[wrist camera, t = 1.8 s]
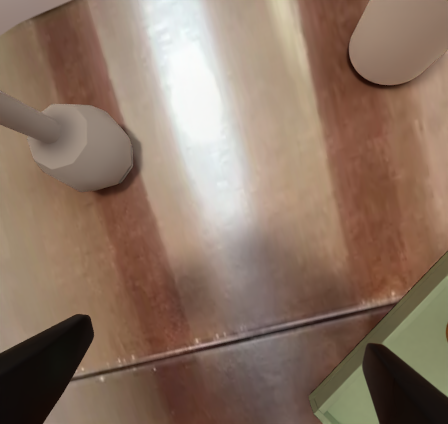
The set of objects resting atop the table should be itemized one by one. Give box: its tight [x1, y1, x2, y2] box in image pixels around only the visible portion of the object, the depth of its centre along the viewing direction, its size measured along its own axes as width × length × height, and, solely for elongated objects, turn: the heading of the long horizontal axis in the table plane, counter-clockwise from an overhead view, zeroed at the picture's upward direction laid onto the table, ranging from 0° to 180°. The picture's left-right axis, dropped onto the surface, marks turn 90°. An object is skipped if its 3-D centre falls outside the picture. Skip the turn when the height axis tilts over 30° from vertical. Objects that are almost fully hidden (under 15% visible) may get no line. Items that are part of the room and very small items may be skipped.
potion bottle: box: [0, 91, 133, 192], centre depth 18 cm, size 9×9×18 cm
